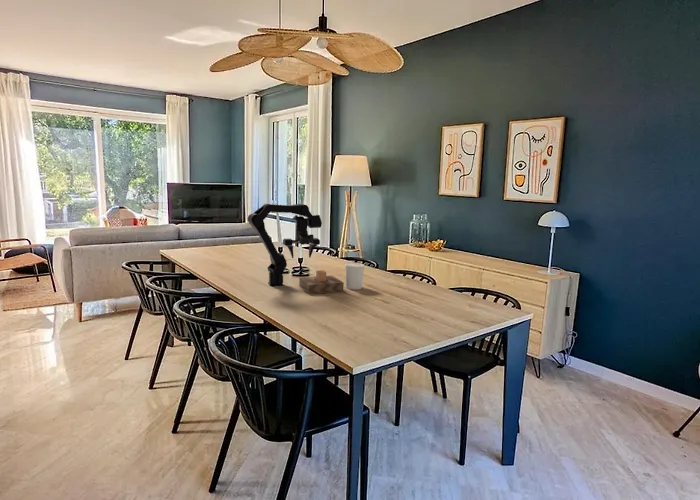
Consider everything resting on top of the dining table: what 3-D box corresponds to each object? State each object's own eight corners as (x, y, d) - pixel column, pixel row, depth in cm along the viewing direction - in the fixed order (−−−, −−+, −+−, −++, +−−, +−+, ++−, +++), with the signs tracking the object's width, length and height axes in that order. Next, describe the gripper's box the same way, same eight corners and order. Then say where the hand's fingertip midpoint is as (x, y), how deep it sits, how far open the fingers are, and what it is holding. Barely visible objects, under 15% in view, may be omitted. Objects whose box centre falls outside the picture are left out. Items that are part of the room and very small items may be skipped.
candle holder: (340, 288, 222) (341, 265, 220) (349, 284, 230) (350, 262, 228) (357, 291, 217) (358, 267, 215) (366, 287, 226) (367, 264, 224)
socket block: (308, 294, 208) (308, 284, 208) (299, 285, 223) (299, 277, 222) (343, 291, 215) (343, 282, 214) (332, 283, 230) (332, 275, 229)
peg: (318, 290, 217) (318, 272, 215) (315, 288, 220) (316, 270, 219) (325, 289, 218) (326, 271, 216) (323, 287, 222) (323, 270, 220)
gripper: (287, 230, 216) (287, 261, 218) (323, 230, 223) (322, 260, 225) (282, 227, 226) (282, 257, 229) (317, 227, 233) (316, 256, 236)
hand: (301, 257), depth 229 cm, fingers open, 9 cm apart
